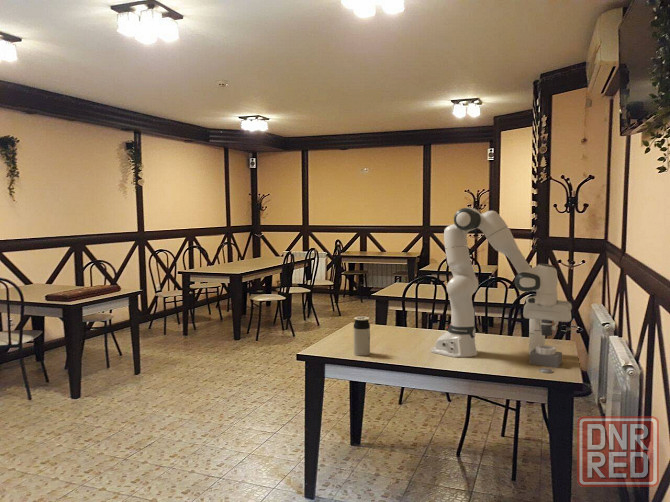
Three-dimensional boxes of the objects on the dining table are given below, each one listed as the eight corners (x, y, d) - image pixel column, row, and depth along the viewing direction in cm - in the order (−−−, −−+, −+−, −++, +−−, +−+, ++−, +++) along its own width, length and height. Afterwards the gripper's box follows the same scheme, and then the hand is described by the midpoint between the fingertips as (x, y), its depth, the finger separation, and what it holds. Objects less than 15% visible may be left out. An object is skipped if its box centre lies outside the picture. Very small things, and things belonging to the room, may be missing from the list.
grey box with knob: (529, 363, 233) (529, 347, 233) (534, 359, 241) (534, 343, 240) (557, 367, 226) (557, 351, 226) (561, 363, 234) (562, 346, 233)
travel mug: (351, 355, 250) (351, 318, 249) (356, 351, 258) (356, 316, 257) (367, 356, 247) (367, 319, 246) (371, 352, 255) (371, 316, 254)
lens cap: (538, 372, 220) (538, 370, 220) (541, 369, 225) (541, 367, 225) (550, 374, 218) (550, 372, 218) (553, 371, 222) (553, 369, 222)
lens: (540, 335, 232) (540, 319, 232) (542, 333, 236) (542, 318, 235) (550, 336, 229) (551, 320, 229) (553, 334, 233) (553, 319, 233)
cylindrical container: (543, 357, 243) (544, 305, 242) (527, 355, 247) (528, 304, 245) (545, 354, 249) (546, 303, 248) (530, 352, 253) (531, 302, 252)
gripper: (573, 300, 228) (572, 330, 229) (525, 297, 240) (525, 326, 241) (570, 302, 223) (570, 333, 224) (522, 298, 235) (522, 328, 236)
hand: (546, 329), depth 232 cm, fingers closed on lens, 4 cm apart
